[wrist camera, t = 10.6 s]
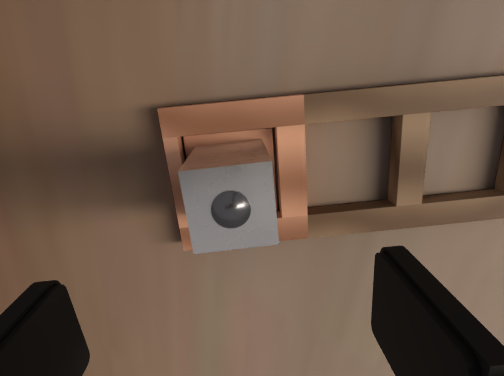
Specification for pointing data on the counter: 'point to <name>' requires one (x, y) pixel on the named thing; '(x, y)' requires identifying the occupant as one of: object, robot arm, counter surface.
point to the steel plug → (229, 196)
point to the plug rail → (330, 110)
